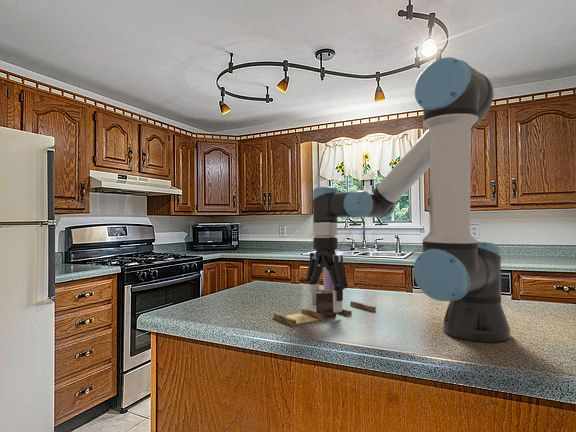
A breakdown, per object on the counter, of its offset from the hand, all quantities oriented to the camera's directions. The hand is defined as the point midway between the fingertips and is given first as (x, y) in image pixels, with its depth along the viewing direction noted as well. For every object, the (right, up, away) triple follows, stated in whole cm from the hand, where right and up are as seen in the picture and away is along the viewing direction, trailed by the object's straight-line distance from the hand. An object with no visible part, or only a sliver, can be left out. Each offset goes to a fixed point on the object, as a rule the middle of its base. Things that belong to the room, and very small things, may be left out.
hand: (326, 308), depth 114 cm
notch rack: (0, -2, 0) cm, 2 cm away
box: (0, -2, 0) cm, 2 cm away
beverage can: (+5, -3, +25) cm, 26 cm away
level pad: (-9, -2, -5) cm, 10 cm away
